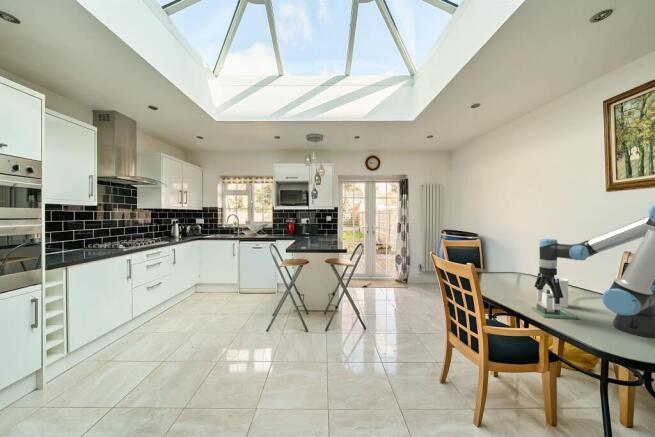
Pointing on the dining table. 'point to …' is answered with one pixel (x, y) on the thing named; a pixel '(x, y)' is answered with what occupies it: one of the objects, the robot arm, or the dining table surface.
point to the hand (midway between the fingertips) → (547, 305)
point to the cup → (563, 292)
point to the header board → (554, 313)
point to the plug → (547, 301)
